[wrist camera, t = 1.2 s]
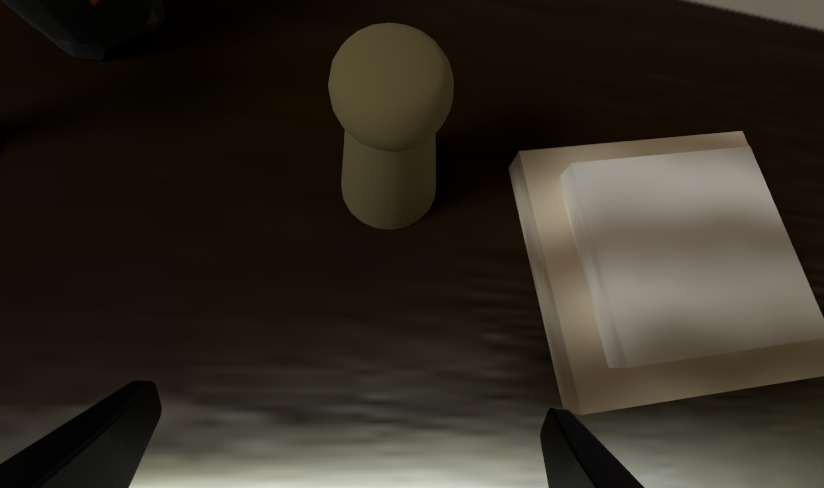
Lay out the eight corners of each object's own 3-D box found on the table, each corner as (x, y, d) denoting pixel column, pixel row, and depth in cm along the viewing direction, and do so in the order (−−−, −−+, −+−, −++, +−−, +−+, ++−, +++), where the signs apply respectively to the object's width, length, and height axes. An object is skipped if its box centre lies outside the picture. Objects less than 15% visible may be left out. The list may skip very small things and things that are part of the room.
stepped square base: (805, 372, 24) (884, 372, 20) (563, 410, 22) (600, 418, 19) (715, 148, 28) (767, 114, 24) (508, 168, 27) (529, 134, 23)
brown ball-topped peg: (340, 144, 26) (312, -5, 16) (432, 142, 27) (463, -3, 17) (341, 231, 25) (310, 129, 14) (439, 227, 25) (479, 126, 15)
